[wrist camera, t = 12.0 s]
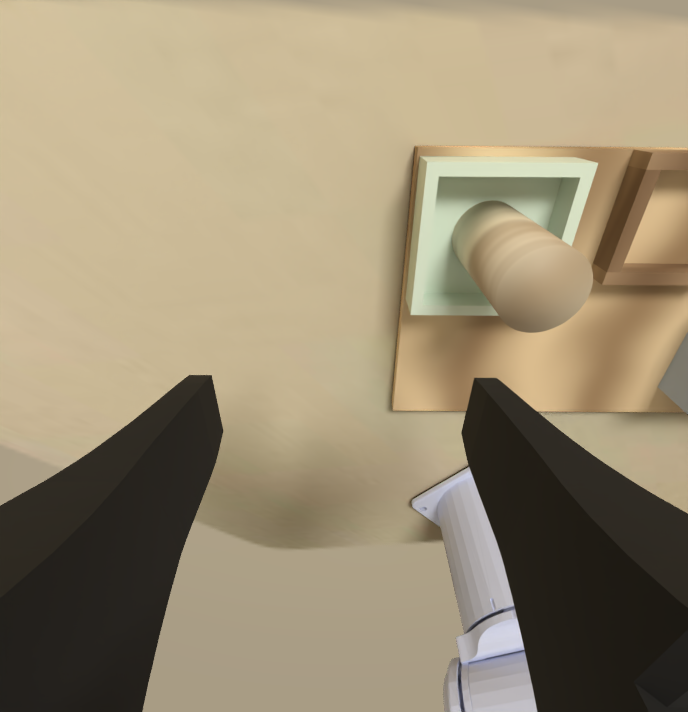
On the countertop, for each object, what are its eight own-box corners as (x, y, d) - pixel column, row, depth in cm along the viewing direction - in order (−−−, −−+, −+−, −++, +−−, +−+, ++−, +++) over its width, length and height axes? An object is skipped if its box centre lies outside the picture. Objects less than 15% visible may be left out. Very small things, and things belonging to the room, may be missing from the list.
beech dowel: (533, 235, 18) (609, 291, 13) (476, 280, 19) (526, 348, 14) (495, 184, 17) (563, 224, 12) (438, 236, 18) (477, 292, 13)
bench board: (1002, 150, 17) (1075, 155, 15) (796, 404, 24) (829, 426, 23) (415, 145, 17) (422, 150, 15) (391, 401, 24) (395, 424, 23)
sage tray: (575, 156, 16) (598, 163, 15) (533, 299, 20) (549, 315, 18) (419, 156, 16) (427, 161, 15) (405, 298, 20) (410, 315, 18)
